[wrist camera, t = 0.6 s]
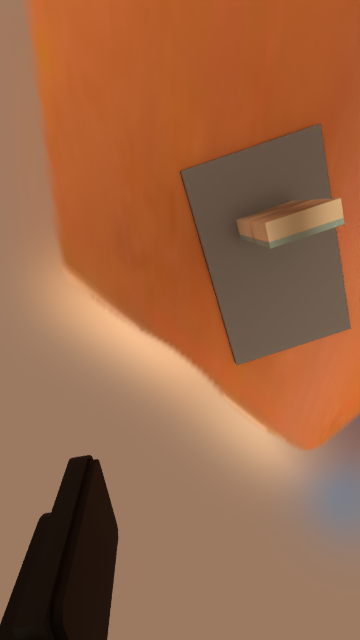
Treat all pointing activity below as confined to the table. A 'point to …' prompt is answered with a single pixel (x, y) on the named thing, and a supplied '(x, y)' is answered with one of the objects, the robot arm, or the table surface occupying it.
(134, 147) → the table surface
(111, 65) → the table surface
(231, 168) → the mat
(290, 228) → the tile
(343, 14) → the table surface
